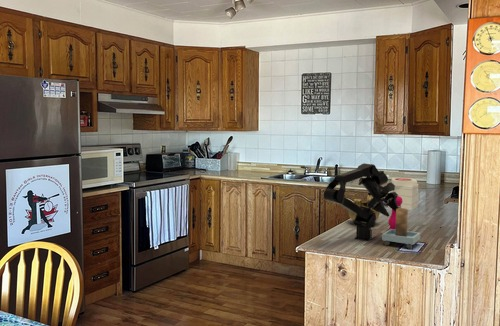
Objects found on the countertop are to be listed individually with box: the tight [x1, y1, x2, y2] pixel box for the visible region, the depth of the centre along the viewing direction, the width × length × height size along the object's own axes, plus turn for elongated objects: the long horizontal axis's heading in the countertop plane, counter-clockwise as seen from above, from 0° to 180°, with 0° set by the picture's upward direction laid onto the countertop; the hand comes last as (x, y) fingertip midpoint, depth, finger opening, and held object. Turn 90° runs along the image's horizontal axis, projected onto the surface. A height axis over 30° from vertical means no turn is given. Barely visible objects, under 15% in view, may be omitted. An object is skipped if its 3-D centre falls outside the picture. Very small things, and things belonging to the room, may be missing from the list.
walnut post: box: [396, 208, 409, 237], centre depth 222 cm, size 5×5×13 cm
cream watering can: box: [387, 177, 420, 211], centre depth 316 cm, size 19×30×18 cm, turn 56°
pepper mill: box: [387, 193, 403, 230], centre depth 247 cm, size 7×7×20 cm
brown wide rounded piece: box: [347, 194, 381, 223], centre depth 264 cm, size 22×17×15 cm
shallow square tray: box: [381, 229, 422, 250], centre depth 222 cm, size 14×12×5 cm
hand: (393, 214), depth 224 cm, fingers open, 9 cm apart
